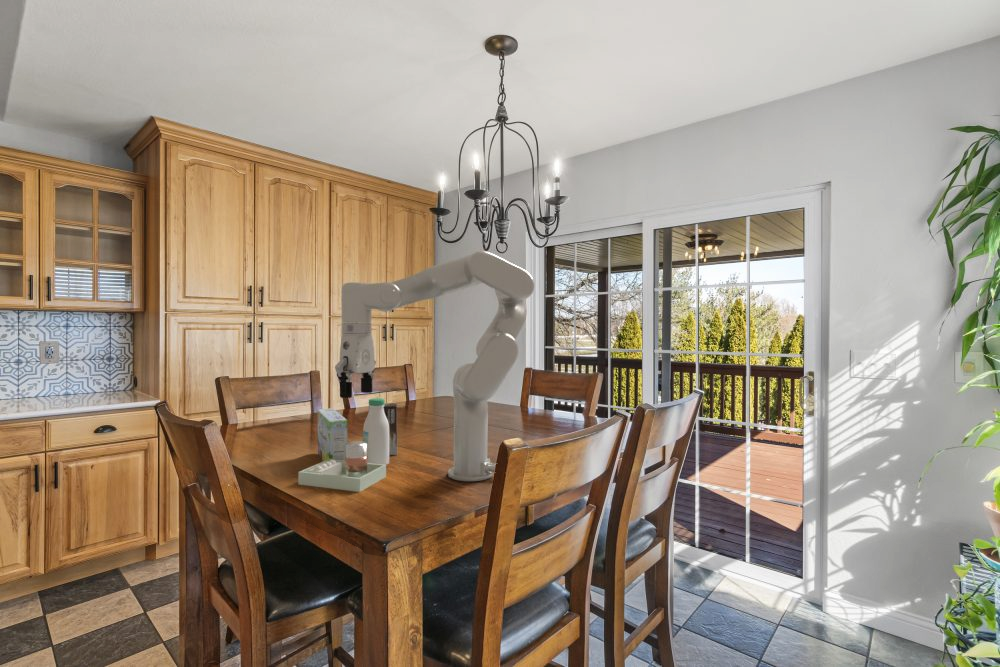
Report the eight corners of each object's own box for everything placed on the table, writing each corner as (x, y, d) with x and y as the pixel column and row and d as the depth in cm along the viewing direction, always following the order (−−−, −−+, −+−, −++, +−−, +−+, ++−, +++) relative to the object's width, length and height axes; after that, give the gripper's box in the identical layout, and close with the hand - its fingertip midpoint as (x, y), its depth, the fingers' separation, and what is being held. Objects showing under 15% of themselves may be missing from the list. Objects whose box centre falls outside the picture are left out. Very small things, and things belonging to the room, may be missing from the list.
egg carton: (341, 474, 136) (341, 459, 136) (321, 484, 128) (321, 467, 128) (329, 472, 138) (329, 457, 137) (308, 482, 129) (308, 466, 129)
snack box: (316, 456, 158) (316, 409, 158) (334, 453, 161) (334, 407, 160) (328, 473, 140) (329, 420, 139) (349, 471, 142) (349, 419, 142)
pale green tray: (385, 479, 135) (386, 464, 135) (359, 494, 122) (359, 478, 122) (329, 473, 140) (329, 459, 140) (298, 487, 127) (298, 471, 127)
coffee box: (397, 450, 166) (397, 402, 166) (397, 455, 160) (397, 406, 159) (369, 451, 164) (369, 403, 164) (367, 456, 158) (368, 406, 158)
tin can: (371, 478, 132) (371, 441, 132) (361, 485, 127) (361, 446, 127) (352, 477, 134) (352, 440, 133) (341, 483, 128) (341, 445, 128)
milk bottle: (392, 462, 152) (393, 397, 151) (384, 469, 144) (384, 401, 144) (368, 461, 152) (368, 396, 152) (358, 468, 145) (359, 400, 144)
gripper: (350, 330, 120) (350, 400, 120) (385, 329, 137) (385, 391, 137) (323, 330, 122) (324, 399, 123) (362, 329, 139) (362, 390, 139)
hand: (356, 394), depth 130 cm, fingers open, 9 cm apart
